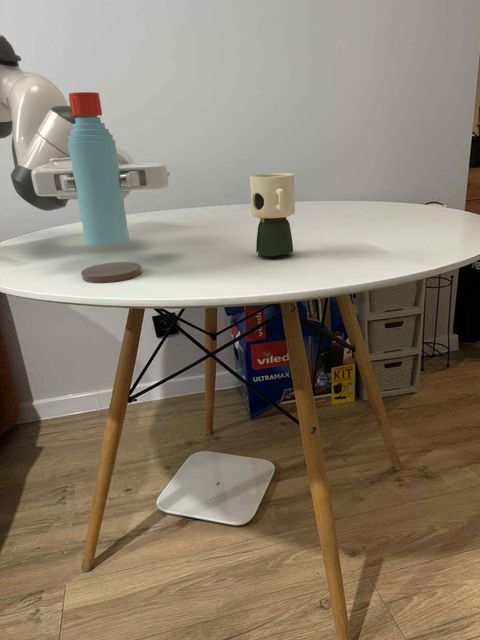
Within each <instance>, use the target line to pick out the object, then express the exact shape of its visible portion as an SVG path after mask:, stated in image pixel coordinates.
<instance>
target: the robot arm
mask: <svg viewBox="0 0 480 640" xmlns="http://www.w3.org/2000/svg"><path fill="white" fill-rule="evenodd" d="M21 61H22V58H21V56H20V55H18V54H16V51H15V49H14V48H13V46H12V44H11V43H10V41H9V40H7V38H6V37H5V36H4V35H2V34H0V139H6V138H8V137H9V136H12V137H11V154H12V159H13V165H14V168H13V170H12V172H11V173H10V179H11V184H12V186H13V187H14V191H15V192H16V194H18V196H19V197H20V198H21V199H23V200H24V201H25V202H27V203H28V204H30V205H31V206H32V207H34V208H37V209H38V210H41V211H46V212H50V211H55V210H56V211H57V210H59V209H63V208H65V207H67V204H68V203H69V201H70V200H78V197H77V192H76V186H75V181H74V175H73V170H72V164H71V159H70V153H69V147H68V142H69V138H68V136H71V130H74V129H73V124H76V121H75V118H78V116H72V113H71V107H70V105H69V103H68V101H67V99H66V96H65V95H64V94H63V92H62V91H61V90H60V88H58V87H57V85H56V84H55V83H53V82H52V81H51V80H49V79H48V78H46V77H45V76H44V75H41V74H38V73H35V72H29V71H24V70H22V69H21V68H20V64H19V62H21ZM105 129H107V128H106V127H105ZM109 134H111V132H109ZM116 151H117V158H118V165H119V172H120V175H119V179H120V181H121V182H120V185H121V187H122V192H123V199H124V200H125V199H126V198H127V197H128V196H129V194H130V193H131V192H132V191H147V190H161V189H163V190H164V189H168V188H169V185H170V184H169V177H170V175H171V174H170V171H169V170H168V167H167V165H166V164H165V163H162V162H139V163H137V162H135V161H134V159H133V157H131V155H130V154H128V153H127V151H125V150H124V149H121V148H119V147H117V146H116Z"/></svg>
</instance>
